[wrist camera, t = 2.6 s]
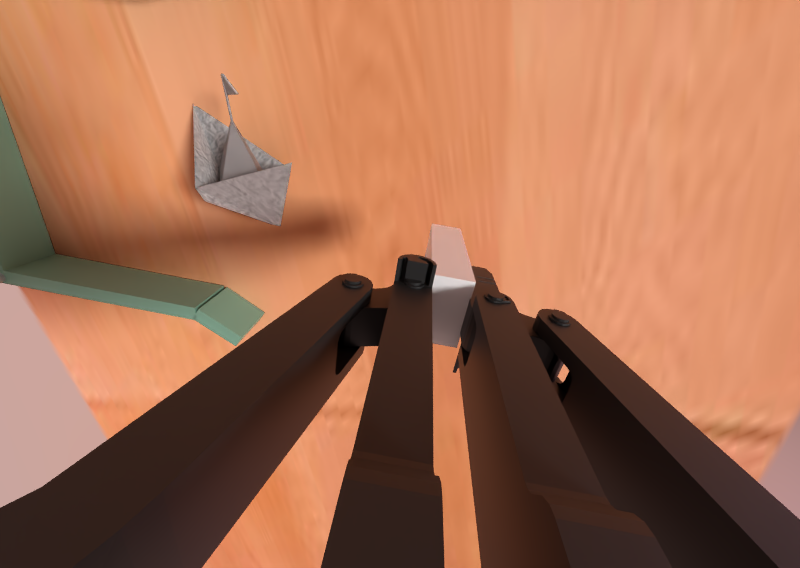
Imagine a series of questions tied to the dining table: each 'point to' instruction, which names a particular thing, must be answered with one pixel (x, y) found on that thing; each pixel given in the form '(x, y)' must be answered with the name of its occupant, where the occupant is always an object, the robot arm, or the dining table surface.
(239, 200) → the paper boat
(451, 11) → the dining table surface
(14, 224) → the green u-shaped frame
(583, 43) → the dining table surface
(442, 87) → the dining table surface
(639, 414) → the robot arm
